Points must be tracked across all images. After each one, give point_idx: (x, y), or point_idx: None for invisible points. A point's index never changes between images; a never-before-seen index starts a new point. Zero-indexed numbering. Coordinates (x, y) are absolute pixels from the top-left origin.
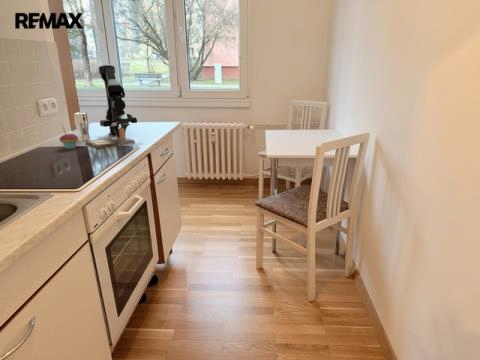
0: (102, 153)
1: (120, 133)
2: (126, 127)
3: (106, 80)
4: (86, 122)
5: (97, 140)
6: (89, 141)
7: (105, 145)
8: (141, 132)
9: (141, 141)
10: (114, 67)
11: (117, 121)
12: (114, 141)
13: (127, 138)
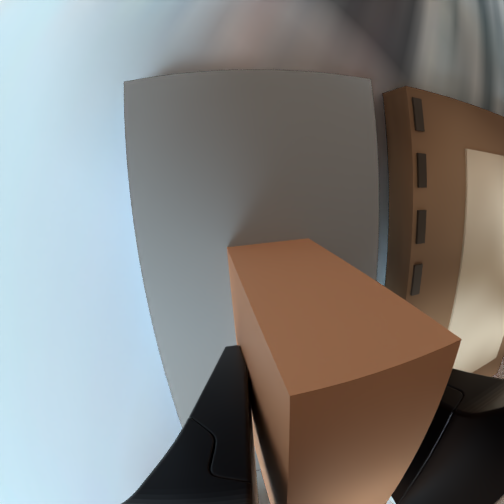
0: (495, 6)
1: (375, 289)
2: (138, 495)
3: None
4: None
5: (464, 369)
6: (493, 362)
7: (500, 117)
8: (26, 493)
9: (21, 142)
10: None
11: None
12: (413, 219)
13: (169, 312)
